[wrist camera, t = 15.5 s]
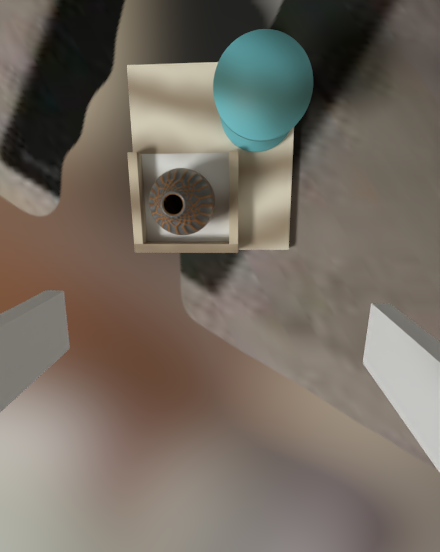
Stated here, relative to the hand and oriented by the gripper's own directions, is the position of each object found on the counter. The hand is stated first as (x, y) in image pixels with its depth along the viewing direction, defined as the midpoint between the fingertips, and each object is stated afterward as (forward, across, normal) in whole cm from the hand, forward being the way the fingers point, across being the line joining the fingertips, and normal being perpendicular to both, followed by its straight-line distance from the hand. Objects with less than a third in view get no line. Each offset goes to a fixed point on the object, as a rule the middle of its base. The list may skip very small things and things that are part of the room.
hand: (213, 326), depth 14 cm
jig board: (+27, -2, +9) cm, 29 cm away
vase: (+26, -5, +4) cm, 27 cm away
